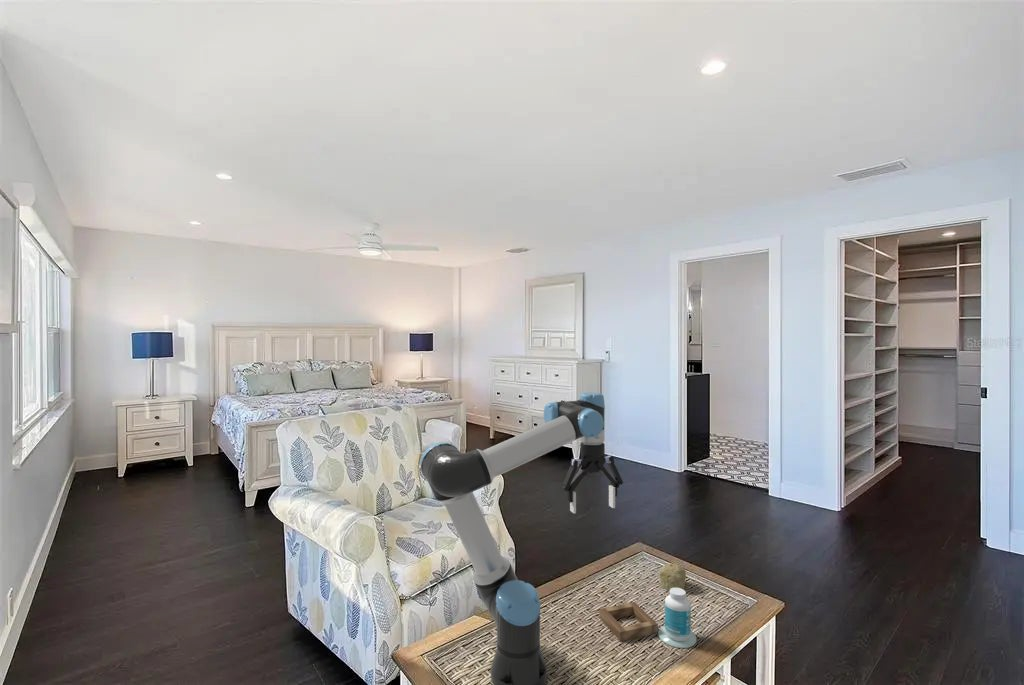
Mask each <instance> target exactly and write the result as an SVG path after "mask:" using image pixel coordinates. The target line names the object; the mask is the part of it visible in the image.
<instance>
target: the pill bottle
mask: <svg viewBox="0 0 1024 685" xmlns="http://www.w3.org/2000/svg"><path fill="white" fill-rule="evenodd" d="M691 605H692V604H691V601H690V599H689V598H688V597H687V593H686V590H685V589H681V588H671V589H670V591H669V595H667V596H665V599H664V626H665V633H666V635H667V636H668V637H669V638H671V639H673V640H675V641H686V640H688V639H689V638H690V633H691V631H692V630H691V619H692V618H691V616H692V614H691V612H692V607H691Z"/></svg>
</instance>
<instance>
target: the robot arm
mask: <svg viewBox="0 0 1024 685" xmlns="http://www.w3.org/2000/svg"><path fill="white" fill-rule="evenodd" d="M605 409H606V406H605V397H604V394H602V393H600V392H582V393H580V396H579V399H578V400H566V401H557V400H556V401H553V402H547V403H546V404H545V406H544V408H543V420H544V422H545V423H542V424H541V425H539V426H536V427H533V428H531V429H529V430H527V431H524V432H522V433H519V434H518V435H515V436H514V437H511V438H508V439H507V440H506V439H505V440H504V441H501V442H499V443H498V444H494V445H493V446H490V447H488V448H485V449H483V450H481V449H478V448H476V449H474V450H471V451H468V452H461V451H460V450H459V449H458V448H457V447H456V446H455V445H454V444H452V443H449V442H443V441H442V442H437V443H434V444H431V445H430V446H428V448H427V449H425V451H423V454H422V456H421V459H420V471H421V474H422V475H423V477H425V479H426V481H427V483H428V485H429V488H430V489H431V492H432V493H433V496H434V498H435V500H436V501H438V502H440V503H443V504H444V506H445V508H446V510H447V512H448V515H449V517H450V519H451V522H452V524H453V526H454V528H455V530H456V532H457V534H458V536H459V539H460V541H461V544H462V546H463V548H464V549H465V552H466V554H467V556H468V559H469V561H470V564H471V565H472V568H473V569H474V572H473V575H472V580H473V582H474V583H473V584H474V585H475V587H476V591H477V595H478V597H479V599H480V600H481V602H482V603H483V605H484V606H485V608H486V609H487V611H488V613H489V614H490V616H491V617H492V619H493V622H495V625H496V650H495V653H494V656H493V659H492V661H491V665H490V681H491V683H492V685H546V683H547V678H548V677H547V676H548V675H547V674H548V670H547V669H548V668H547V664H546V661H545V659H544V655H543V651H542V649H541V602H540V595H539V592H538V591H537V589H536V588H535V587H534V586H533V585H532V584H531V583H529V582H525V581H523V580H519V579H518V576H516V573H515V571H514V569H513V566H512V564H511V562H510V560H509V558H508V557H506V556H504V555H503V556H502V555H501V553H500V550H499V548H498V545H497V544H496V541H495V538H494V536H493V534H492V532H491V530H490V528H489V526H488V523H487V521H486V519H485V517H484V515H483V512H482V509H481V508H480V505H479V503H478V501H477V498H476V496H475V494H474V492H475V491H477V490H480V489H482V488H485V487H486V486H488V485H491V484H493V481H494V479H495V478H496V477H498V476H500V475H503V474H505V473H507V472H509V471H511V470H513V469H516V468H518V467H520V466H522V465H524V464H527V463H529V462H531V461H533V460H535V459H537V458H540V457H541V456H544V455H546V454H548V453H550V452H552V451H554V450H557V449H559V448H561V447H563V446H565V445H567V444H570V443H572V442H574V441H576V440H577V439H580V442H581V443H580V444H579V447H580V448H579V449H580V452H579V453H580V457H579V458H580V459H575V458H571V460H570V466H569V468H568V470H567V472H566V475H565V478H564V480H563V482H562V485H561V489H562V490H564V491H565V492H567V502H569V511H570V512H571V513H573V514H576V513H577V492H576V491H575V490H576V488H577V487H578V486H579V484H580V483H581V481H582V480H583V478H584V477H585V476H586V475H587V474H588V473H589V474H592V473H599V472H600V473H601V474H602V475H603V476H604V477H605V479H606V480H607V481H608V482H609V484H610V485H608V507H610V508H612V509H616V497H618V488H620V485H623V483H624V481H623V479H622V477H621V475H620V473H619V469H618V468H617V466H616V464H615V459H614V456H612V455H610V454H607V455H606V456H605V449H606V448H605V445H606V444H605V443H604V442H605V438H606V437H605V413H606V412H605ZM605 463H606V464H607V465H608V467H609V470H610V472H611V473H612V475H611V474H610V473H609V472H608V471H607V469H606V467H605V466H604V465H605ZM579 466H580V467H579ZM578 467H579V468H578ZM577 469H578V472H577ZM576 472H577V473H576ZM613 477H614V478H613Z"/></svg>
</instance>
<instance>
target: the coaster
mask: <svg viewBox="0 0 1024 685" xmlns="http://www.w3.org/2000/svg"><path fill="white" fill-rule="evenodd" d="M657 634H658V638H659V640H661V642H663V643H664V644H666V645H667V646H671V647H673V648H677V649H688V648H692V647H693V646H695V645H696V644H697V636H696V634H695V632H693V631H692V630H691V633H690V638H689V639H688V640H686V641H675V640H673V639H671V638H669V637H668V636H667V635H666V633H665V625H663V626H661V627H659V629H658V633H657Z"/></svg>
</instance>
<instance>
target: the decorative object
mask: <svg viewBox="0 0 1024 685" xmlns="http://www.w3.org/2000/svg"><path fill="white" fill-rule="evenodd" d="M658 577H659V580H658V581H659V585H660V587H661V588H662V589H664V590H666V591H669V592H670V589H671V588H681V589H683V590H685V586H686V585H685V584H686V578H687V572H686V569H685V568H684V567H683V566H681V565H679V564H677V563H672V562H671V563H666V564H664V565H662V567H660V569H659V574H658Z"/></svg>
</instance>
